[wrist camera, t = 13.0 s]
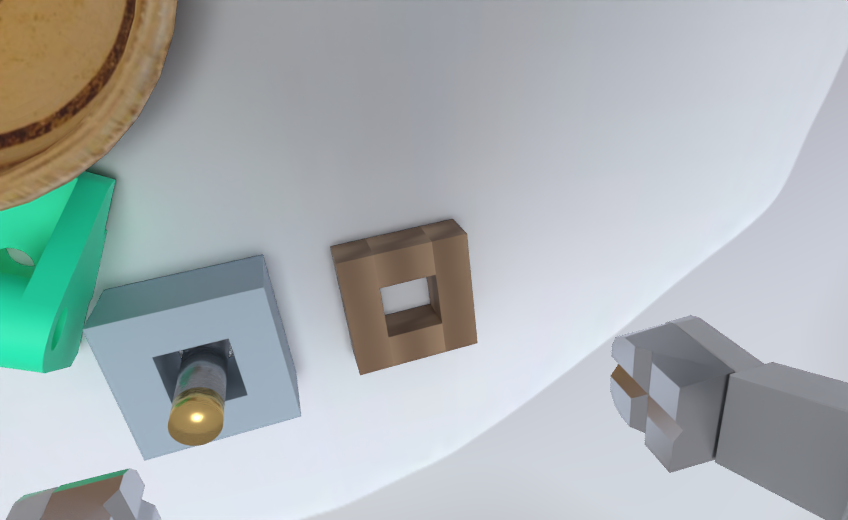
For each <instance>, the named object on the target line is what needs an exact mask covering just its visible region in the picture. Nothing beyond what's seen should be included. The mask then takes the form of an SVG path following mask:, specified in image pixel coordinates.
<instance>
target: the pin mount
mask: <svg viewBox="0 0 848 520" xmlns="http://www.w3.org/2000/svg"><path fill="white" fill-rule="evenodd" d="M330 248H331V252H332V257H333V261H334V266H335V270H336V275H337V279H338V284H339V289H340V293H341V298H342V302H343V307H344V311H345V316H346V320H347V325H348V330H349V334H350V339H351V343H352V348H353V352H354V356H355V359H356V363H357V366H358V369H359V373H360V375H363V374H366V373H370V372H374V371H377V370H381V369H385V368H388V367H392V366H396V365H399V364H403V363H407V362H410V361H414V360H417V359H421V358H425V357H428V356H432V355H436V354H439V353H443V352H447V351H450V350H454V349H458V348H461V347H465V346H469V345H472V344H476V343H477V333H476V322H475V312H474V302H473V291H472V281H471V271H470V260H469V250H468V240H467V233H466V232H465V231H464V230H463V229H462V228H461V227H460V226H459V225H458V224H457V223H456V222H455V221H454V220H453V219H451V220H446V221H442V222H437V223H433V224H428V225H424V226H420V227H415V228H411V229H406V230H402V231H397V232H393V233H388V234H384V235H380V236H375V237H371V238H366V239H362V240H357V241H353V242H348V243H344V244H339V245H335V246H331V247H330ZM424 277H427V282H428V289H429V297H430V304H429V305H425V306H421V307H417V308H413V309H409V310H405V311H401V312H397V313H393V314H389V315H384V310H383V304H382V299H381V293H380V288H383V287H387V286H391V285H395V284H399V283H404V282H408V281H412V280H416V279H420V278H424Z"/></svg>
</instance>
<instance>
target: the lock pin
mask: <svg viewBox="0 0 848 520" xmlns="http://www.w3.org/2000/svg"><path fill="white" fill-rule="evenodd" d="M229 346H230V341H229V338H228V339H224V340H220V341H216V342H212V343H208V344H204V345H200V346H196V347H192V348H188V349H184V351H183V356H182V361H181V365H180V370H179V374H178V379H177V384H176V388H175V393H174V398H173V402H172V407H171V412H170V416H169V421H168V431H169V434H170V436H171V437H172V438H173V439H174V440H175V441H177V442H179V443H181V444H184V445H189V446H198V445H203V444H206V443H209V442H211V441H212V440H214V439H215V438H216V437H217V436H218V435H219V434H220V433H221V431H222V428H223V421H224V409H225V396H226V383H227V371H228V358H229Z"/></svg>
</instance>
